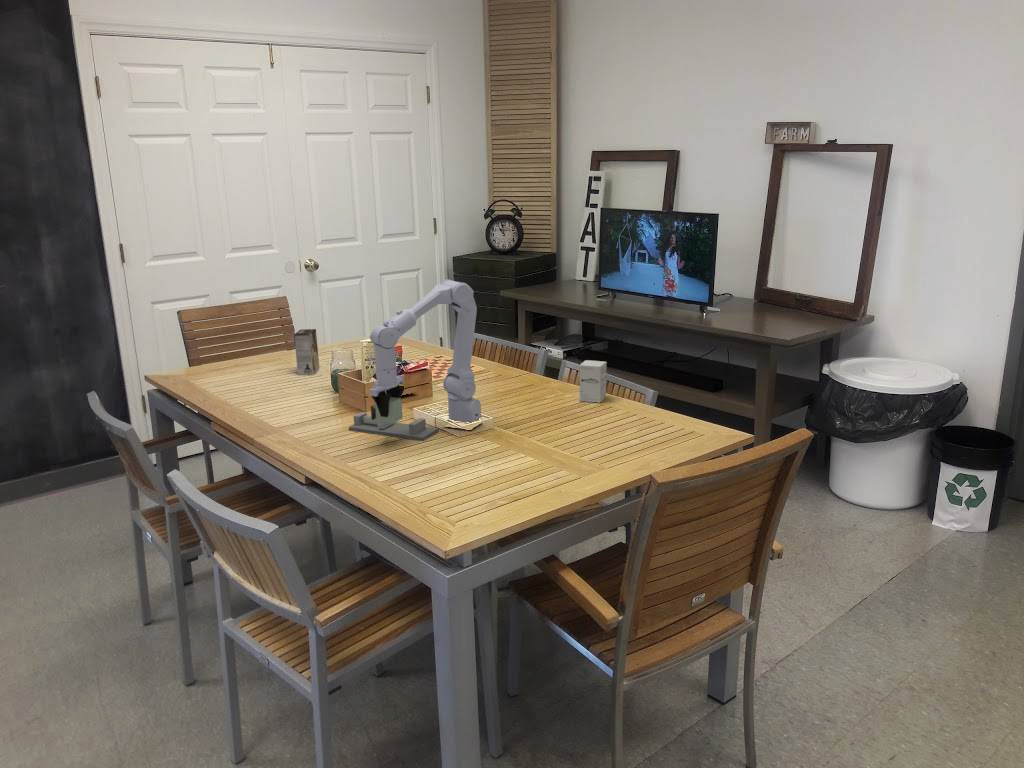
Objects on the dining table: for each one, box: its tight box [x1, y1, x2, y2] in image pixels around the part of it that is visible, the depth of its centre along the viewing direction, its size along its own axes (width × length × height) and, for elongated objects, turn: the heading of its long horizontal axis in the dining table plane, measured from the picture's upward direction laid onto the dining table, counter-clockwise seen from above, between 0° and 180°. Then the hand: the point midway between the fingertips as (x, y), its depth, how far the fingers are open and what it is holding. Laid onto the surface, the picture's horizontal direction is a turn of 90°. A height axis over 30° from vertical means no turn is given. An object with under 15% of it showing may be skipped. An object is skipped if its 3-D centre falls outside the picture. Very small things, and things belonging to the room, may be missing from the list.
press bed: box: [348, 411, 439, 442], centre depth 244 cm, size 26×9×4 cm, turn 65°
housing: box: [374, 397, 404, 423], centre depth 234 cm, size 6×4×6 cm
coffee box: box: [293, 328, 320, 376], centre depth 312 cm, size 9×6×16 cm
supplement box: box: [578, 359, 608, 404], centre depth 270 cm, size 7×7×13 cm
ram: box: [362, 404, 394, 429], centre depth 246 cm, size 9×6×6 cm, turn 65°
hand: (389, 413), depth 234 cm, fingers closed on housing, 4 cm apart
